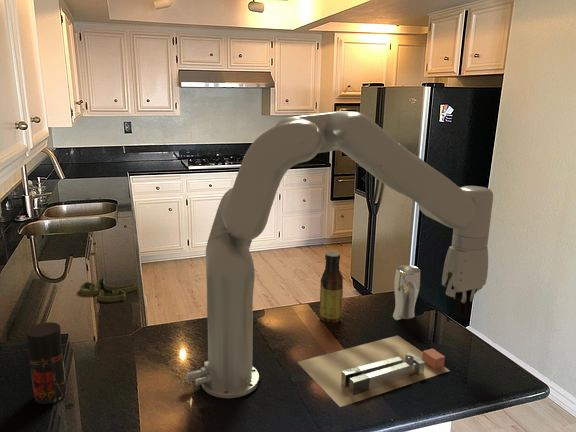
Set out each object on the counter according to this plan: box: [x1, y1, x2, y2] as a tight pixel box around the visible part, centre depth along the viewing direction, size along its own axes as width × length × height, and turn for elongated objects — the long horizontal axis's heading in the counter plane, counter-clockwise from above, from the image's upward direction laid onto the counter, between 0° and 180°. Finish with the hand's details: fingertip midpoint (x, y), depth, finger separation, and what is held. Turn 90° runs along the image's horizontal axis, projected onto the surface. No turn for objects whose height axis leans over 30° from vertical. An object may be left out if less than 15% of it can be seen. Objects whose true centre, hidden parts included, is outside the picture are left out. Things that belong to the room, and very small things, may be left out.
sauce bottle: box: [319, 251, 344, 324], centre depth 130 cm, size 7×6×20 cm
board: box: [296, 335, 451, 408], centre depth 108 cm, size 30×18×1 cm, turn 117°
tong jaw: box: [341, 357, 403, 387], centre depth 103 cm, size 15×2×3 cm, turn 115°
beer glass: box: [392, 264, 421, 321], centre depth 133 cm, size 7×7×15 cm
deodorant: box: [25, 321, 67, 402], centre depth 94 cm, size 6×6×15 cm
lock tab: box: [422, 348, 446, 369], centre depth 109 cm, size 3×4×2 cm
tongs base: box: [349, 352, 425, 396], centre depth 102 cm, size 19×5×4 cm, turn 117°
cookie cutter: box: [79, 277, 139, 303], centre depth 146 cm, size 18×12×2 cm, turn 71°
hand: (461, 315), depth 110 cm, fingers closed
